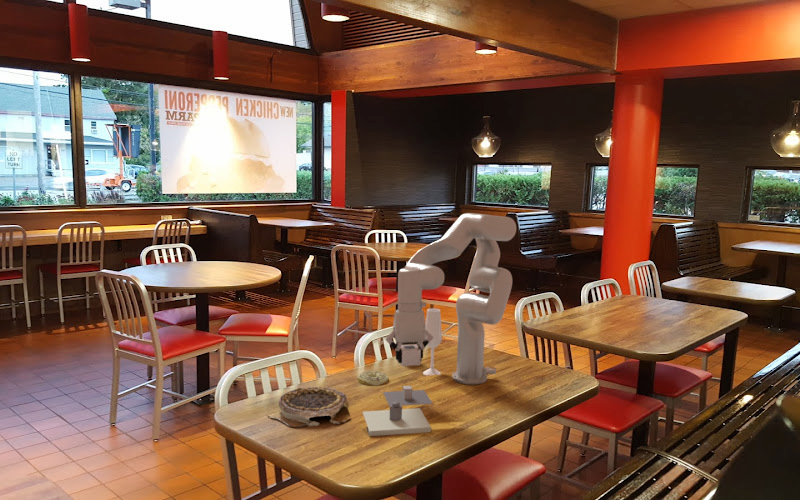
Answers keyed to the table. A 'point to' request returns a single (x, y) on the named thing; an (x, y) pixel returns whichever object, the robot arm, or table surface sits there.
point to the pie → (311, 404)
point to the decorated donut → (372, 378)
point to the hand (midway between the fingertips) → (409, 360)
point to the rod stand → (407, 397)
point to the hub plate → (396, 421)
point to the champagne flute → (435, 330)
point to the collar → (410, 355)
